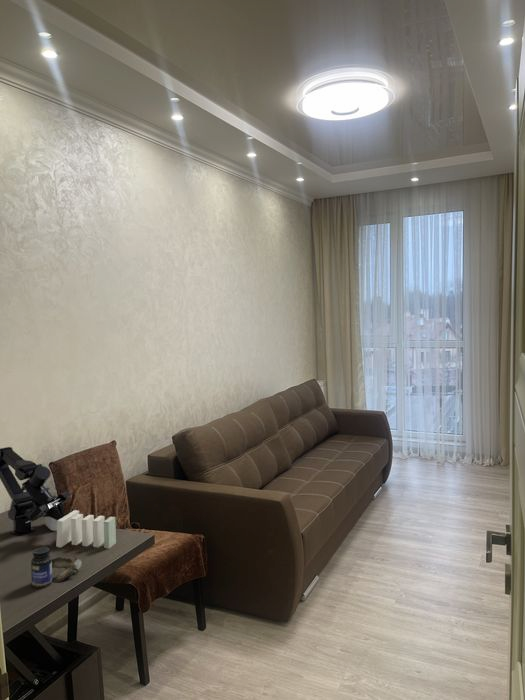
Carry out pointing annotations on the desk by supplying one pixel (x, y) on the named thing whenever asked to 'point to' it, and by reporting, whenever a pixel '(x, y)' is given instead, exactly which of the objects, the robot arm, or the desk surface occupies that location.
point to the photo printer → (51, 523)
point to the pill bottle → (41, 568)
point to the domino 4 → (98, 531)
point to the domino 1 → (64, 529)
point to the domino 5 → (109, 532)
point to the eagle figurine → (66, 564)
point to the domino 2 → (76, 529)
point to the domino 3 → (87, 530)
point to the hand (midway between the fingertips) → (64, 522)
